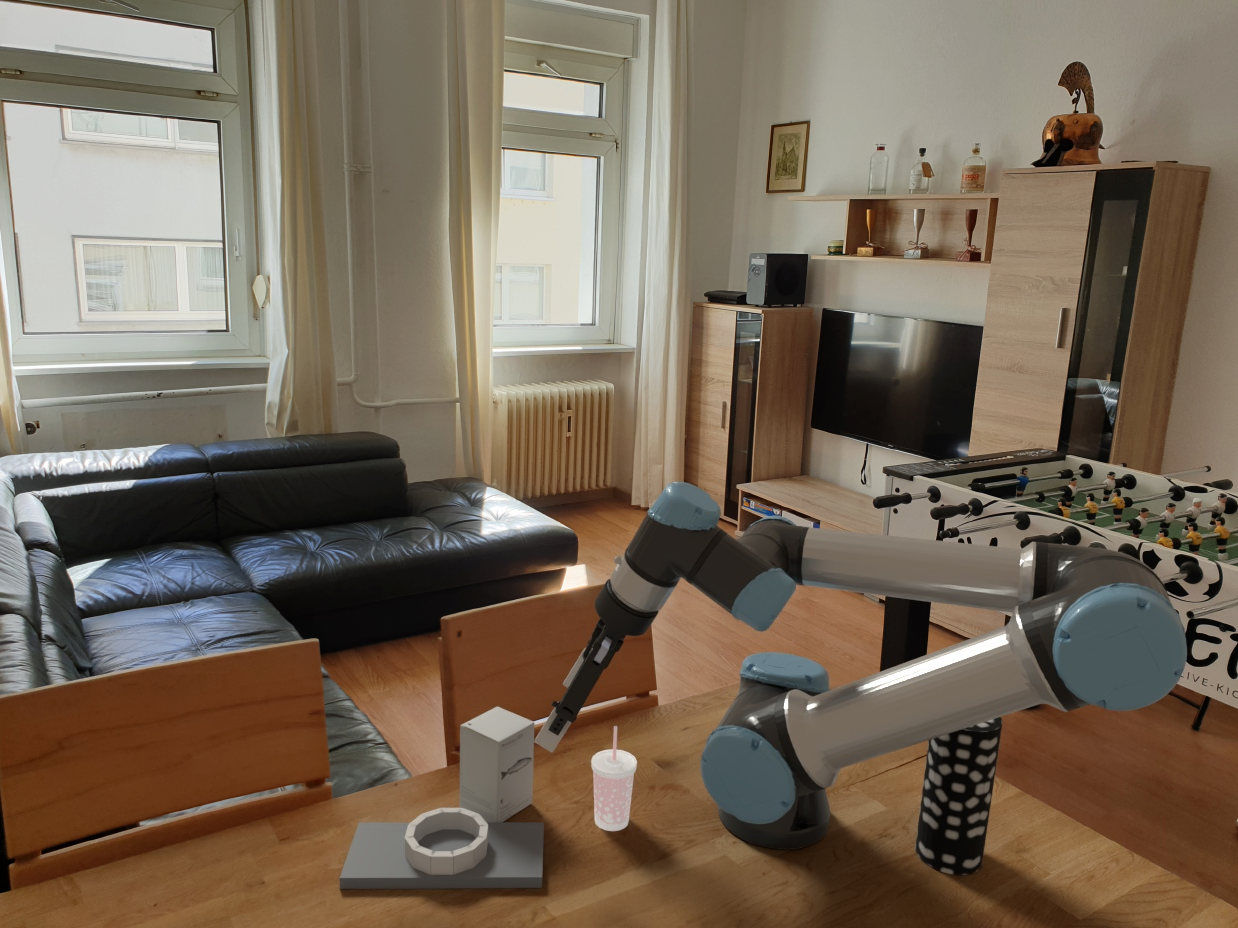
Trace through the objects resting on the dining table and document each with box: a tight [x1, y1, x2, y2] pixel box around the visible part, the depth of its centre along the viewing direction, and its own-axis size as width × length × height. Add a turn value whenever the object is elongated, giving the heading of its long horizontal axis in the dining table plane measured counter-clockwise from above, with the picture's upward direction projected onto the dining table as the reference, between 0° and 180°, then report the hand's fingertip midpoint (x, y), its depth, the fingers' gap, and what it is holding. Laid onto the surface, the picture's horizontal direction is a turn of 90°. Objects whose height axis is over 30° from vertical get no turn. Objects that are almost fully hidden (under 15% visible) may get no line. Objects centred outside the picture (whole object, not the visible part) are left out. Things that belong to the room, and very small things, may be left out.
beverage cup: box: [590, 725, 638, 832], centre depth 126 cm, size 6×6×14 cm
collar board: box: [339, 807, 545, 890], centre depth 118 cm, size 24×11×4 cm, turn 93°
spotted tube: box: [914, 716, 1004, 876], centre depth 121 cm, size 8×8×20 cm
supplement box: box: [459, 706, 535, 822], centre depth 129 cm, size 7×7×13 cm
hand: (558, 715), depth 124 cm, fingers open, 13 cm apart
